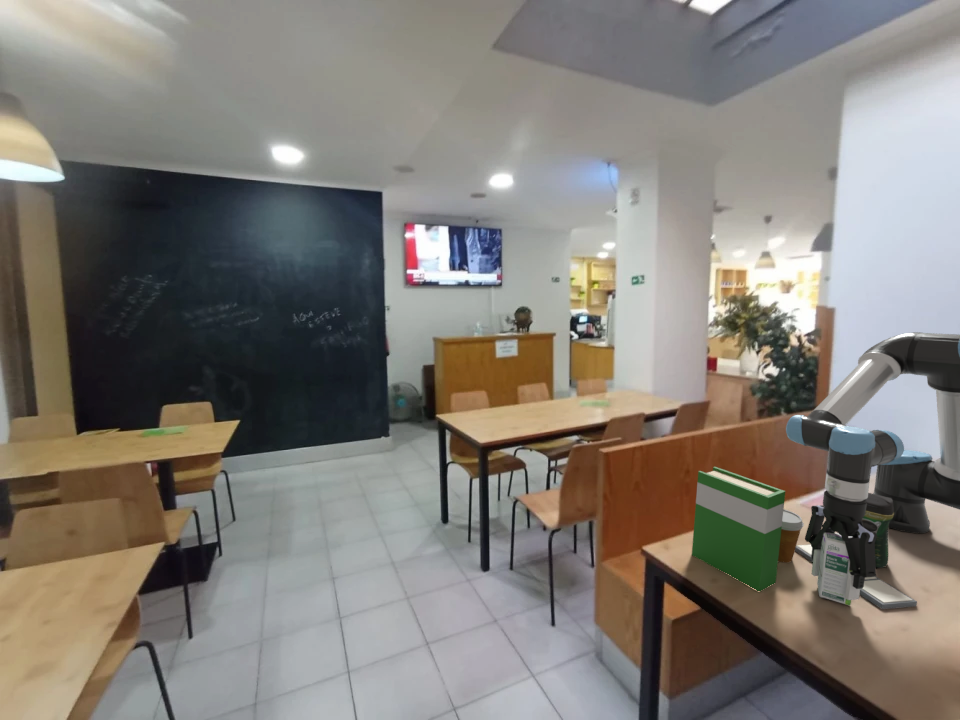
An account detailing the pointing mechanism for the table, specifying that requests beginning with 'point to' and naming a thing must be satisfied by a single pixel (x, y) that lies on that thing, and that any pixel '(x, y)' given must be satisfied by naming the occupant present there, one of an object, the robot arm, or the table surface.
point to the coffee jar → (879, 524)
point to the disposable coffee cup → (789, 535)
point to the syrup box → (833, 568)
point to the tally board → (873, 588)
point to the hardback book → (738, 526)
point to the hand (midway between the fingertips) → (834, 586)
